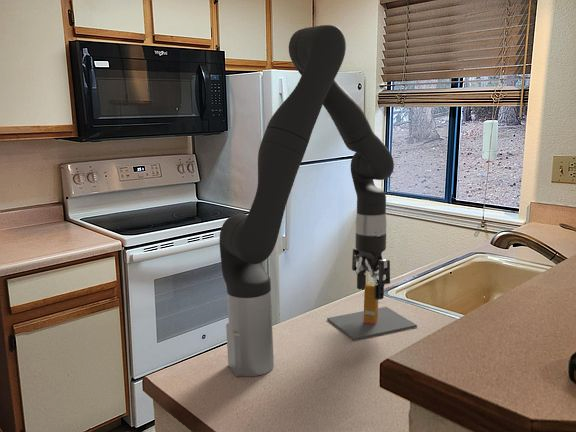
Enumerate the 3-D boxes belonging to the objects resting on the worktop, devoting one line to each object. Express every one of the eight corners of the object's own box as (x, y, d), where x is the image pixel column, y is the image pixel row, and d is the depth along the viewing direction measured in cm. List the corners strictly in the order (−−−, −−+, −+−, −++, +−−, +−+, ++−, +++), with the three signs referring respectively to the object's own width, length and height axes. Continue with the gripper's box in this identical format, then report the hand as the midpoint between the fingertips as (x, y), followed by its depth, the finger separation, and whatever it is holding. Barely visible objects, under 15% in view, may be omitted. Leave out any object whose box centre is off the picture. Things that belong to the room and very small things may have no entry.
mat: (353, 340, 126) (353, 338, 125) (327, 320, 138) (327, 317, 138) (416, 327, 132) (416, 324, 132) (386, 308, 145) (386, 306, 145)
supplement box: (376, 324, 133) (377, 286, 131) (363, 323, 134) (363, 285, 132) (378, 319, 136) (379, 282, 134) (365, 318, 137) (365, 281, 135)
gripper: (343, 227, 136) (343, 287, 139) (373, 238, 123) (371, 304, 126) (369, 224, 138) (368, 283, 141) (400, 235, 126) (398, 300, 129)
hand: (369, 293), depth 134 cm, fingers open, 8 cm apart
